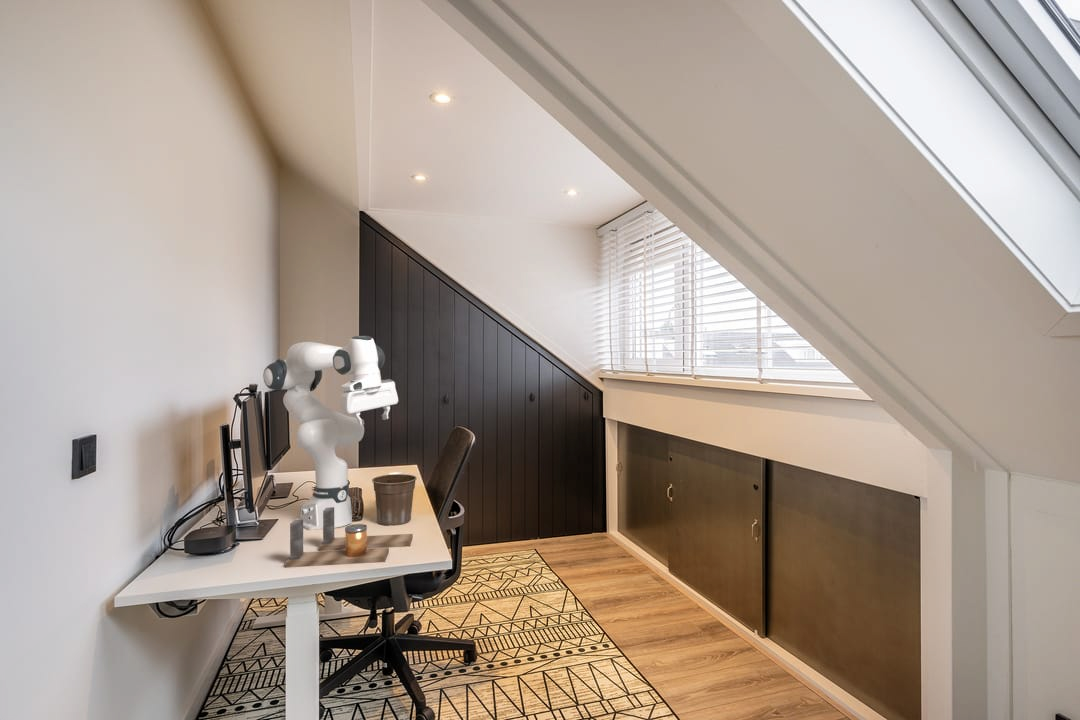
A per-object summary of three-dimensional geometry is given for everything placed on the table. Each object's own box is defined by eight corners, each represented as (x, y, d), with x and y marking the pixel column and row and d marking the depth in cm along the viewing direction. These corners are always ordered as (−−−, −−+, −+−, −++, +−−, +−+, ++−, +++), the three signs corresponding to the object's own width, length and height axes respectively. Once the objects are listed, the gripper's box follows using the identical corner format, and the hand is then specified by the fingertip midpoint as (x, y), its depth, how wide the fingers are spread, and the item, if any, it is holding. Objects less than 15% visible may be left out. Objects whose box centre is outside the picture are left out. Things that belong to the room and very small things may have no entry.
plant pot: (426, 519, 204) (425, 476, 204) (392, 530, 190) (392, 484, 190) (396, 513, 213) (396, 472, 213) (362, 523, 199) (362, 479, 199)
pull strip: (285, 567, 155) (285, 525, 155) (294, 557, 163) (293, 518, 163) (385, 561, 159) (384, 521, 159) (388, 552, 167) (388, 513, 167)
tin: (340, 554, 161) (340, 528, 161) (357, 548, 166) (357, 522, 166) (354, 558, 158) (354, 531, 158) (371, 552, 163) (371, 526, 163)
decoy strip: (319, 550, 169) (318, 512, 169) (325, 542, 177) (325, 506, 177) (410, 546, 173) (409, 508, 173) (412, 538, 181) (412, 502, 181)
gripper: (388, 378, 195) (394, 416, 195) (336, 387, 179) (341, 428, 180) (398, 377, 191) (404, 416, 191) (345, 386, 175) (351, 428, 176)
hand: (373, 422), depth 186 cm, fingers open, 8 cm apart
